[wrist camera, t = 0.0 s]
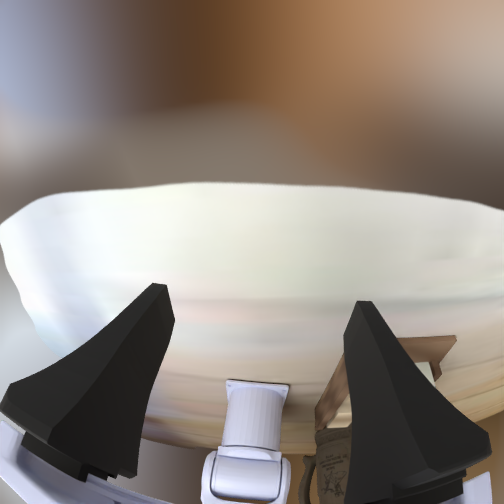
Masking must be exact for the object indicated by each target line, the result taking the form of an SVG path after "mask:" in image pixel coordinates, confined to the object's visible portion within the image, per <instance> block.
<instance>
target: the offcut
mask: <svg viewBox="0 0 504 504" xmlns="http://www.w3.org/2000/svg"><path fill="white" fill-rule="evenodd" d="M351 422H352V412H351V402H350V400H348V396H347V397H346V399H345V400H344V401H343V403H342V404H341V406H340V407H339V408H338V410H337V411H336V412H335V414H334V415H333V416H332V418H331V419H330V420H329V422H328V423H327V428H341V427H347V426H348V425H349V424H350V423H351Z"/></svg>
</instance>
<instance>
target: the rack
mask: <svg viewBox="0 0 504 504" xmlns="http://www.w3.org/2000/svg"><path fill="white" fill-rule="evenodd" d="M397 340H398V341H399V342H400V344H401V345H402V347H403V348H404V350H405V351H406V352H407V354H408V355H409V356H410V358H411V359H412V360H413V362H414V363H420V362H429V365H430V369H431V372H432V376H433V379H434V382H435V381H436V380H437V379H438V378H439V377H440V376H441V375H442V372H441V369H440V366H439V363H440V361H441V360H442V359H443V358H444V357H445V355H446V354H447V353H448V351H449V350H450V349H451V348H452V346H453V345H454V344H455V342H456V341H457V340H456V337H455V335H453V336H438V337H419V338H397ZM348 394H349V387H348V380H347V373H346V366H345V359H344V353H343V356H342V358H341V360H340V362H339V364H338V366H337V368H336V370H335V372H334V374H333V376H332V378H331V380H330V382H329V384H328V386H327V387H326V389H325V391H324V393H323V395H322V397H321V399H320V400H319V402H318V404H317V406H316V408H315V430H322V429H323V428H324V427H325V426H326V424H327V423H328V422H329V420H330V419H331V418H332V416H333V415H334V414H335V412H336V411H337V410H338V408H339V407H340V406H341V404H342V403H343V401H344V400H345V399H346V397H347V396H348Z"/></svg>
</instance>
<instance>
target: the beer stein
mask: <svg viewBox="0 0 504 504" xmlns="http://www.w3.org/2000/svg"><path fill="white" fill-rule="evenodd" d="M351 438H352V422H351V423H350V424H349V425H348V426H347V427H341V428H327V427H326V428H324V429H322V430H320V431H318V432H317V433H316V434H315V441H316V444H317V449H316V455H314V456H306V455H305V456H304V457H303V462H304V464H305V466H306V469H305V473H304V475H303V477H302V480H301V483H300V486H299V492H298V495H299V502H300V504H311V503H310V497H309V491H310V484H311V479H312V475H313V472H314V469H315V466H316V468H317V488H318V496H319V500H320V504H344V497H345V492H346V487H347V481H348V474H349V465H350V455H351Z"/></svg>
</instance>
